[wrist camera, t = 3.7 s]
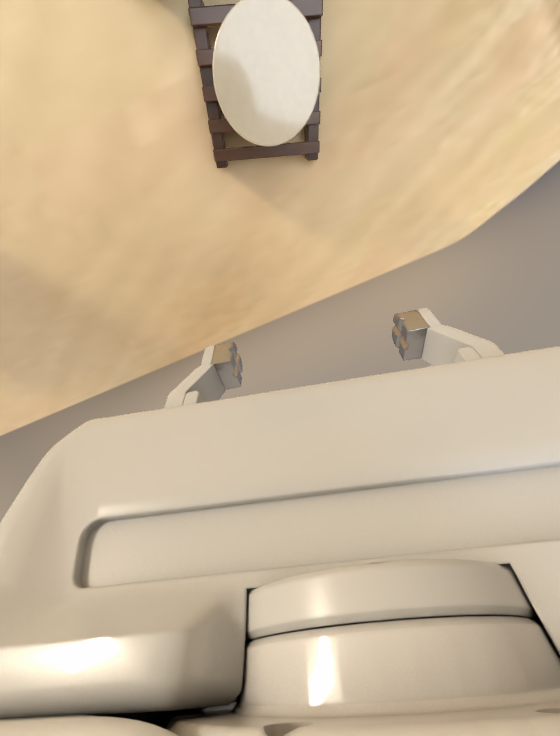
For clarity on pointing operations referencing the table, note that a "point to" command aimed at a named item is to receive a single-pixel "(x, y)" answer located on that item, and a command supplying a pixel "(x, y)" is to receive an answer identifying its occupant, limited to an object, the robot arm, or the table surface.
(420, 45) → the table surface
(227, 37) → the cup
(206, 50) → the drying rack
